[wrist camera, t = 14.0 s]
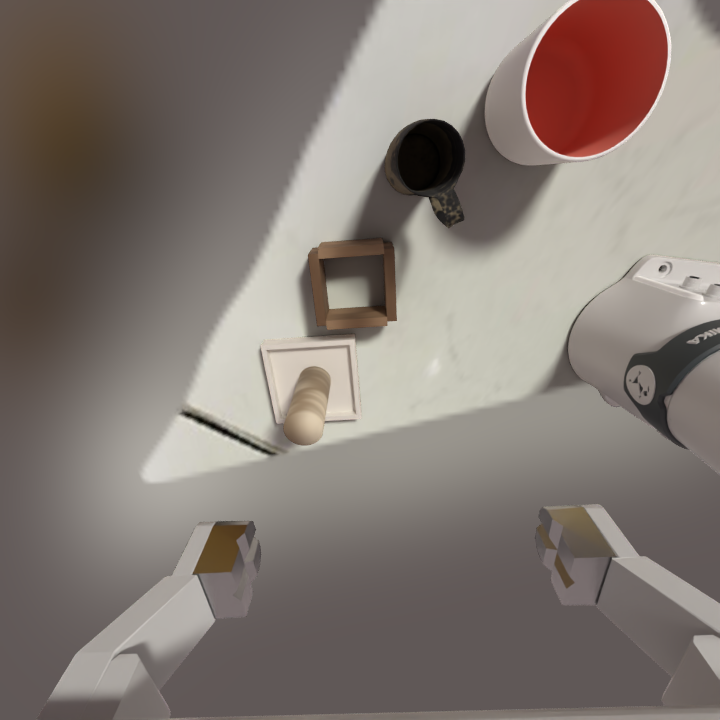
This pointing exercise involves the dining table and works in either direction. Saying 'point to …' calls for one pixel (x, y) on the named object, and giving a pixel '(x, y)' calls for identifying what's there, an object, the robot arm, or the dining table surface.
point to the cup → (579, 82)
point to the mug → (428, 166)
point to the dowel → (308, 407)
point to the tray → (321, 351)
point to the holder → (356, 315)
